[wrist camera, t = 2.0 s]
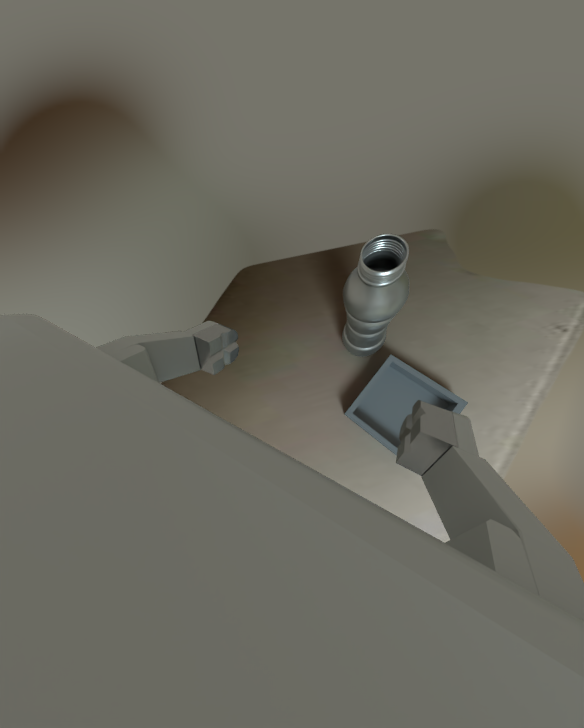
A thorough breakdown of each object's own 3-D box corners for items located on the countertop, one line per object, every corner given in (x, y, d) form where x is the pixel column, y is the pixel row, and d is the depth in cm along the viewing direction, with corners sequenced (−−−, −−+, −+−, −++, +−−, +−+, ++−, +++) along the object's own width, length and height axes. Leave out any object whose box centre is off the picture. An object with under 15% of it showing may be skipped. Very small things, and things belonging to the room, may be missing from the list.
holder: (409, 466, 29) (416, 471, 27) (344, 414, 33) (344, 414, 30) (456, 404, 30) (468, 402, 27) (386, 359, 34) (390, 354, 31)
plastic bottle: (334, 347, 36) (324, 270, 17) (356, 316, 37) (370, 208, 18) (368, 367, 34) (399, 305, 15) (391, 333, 34) (448, 233, 16)
